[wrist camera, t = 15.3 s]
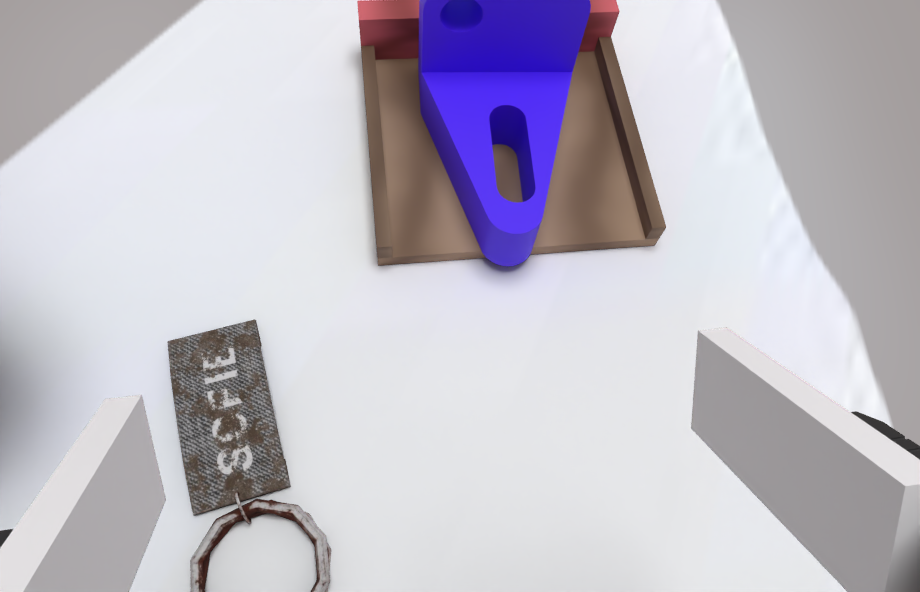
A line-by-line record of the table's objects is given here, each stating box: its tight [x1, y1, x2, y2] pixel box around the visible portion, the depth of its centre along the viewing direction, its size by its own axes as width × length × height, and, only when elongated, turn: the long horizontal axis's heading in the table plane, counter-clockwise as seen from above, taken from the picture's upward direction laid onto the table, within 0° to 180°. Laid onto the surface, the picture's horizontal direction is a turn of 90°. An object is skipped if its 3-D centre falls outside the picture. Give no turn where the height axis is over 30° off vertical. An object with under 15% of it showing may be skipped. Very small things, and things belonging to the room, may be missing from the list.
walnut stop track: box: [358, 0, 666, 266], centre depth 50 cm, size 20×20×5 cm
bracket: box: [418, 0, 591, 266], centre depth 45 cm, size 18×11×12 cm, turn 4°
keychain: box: [168, 320, 331, 592], centre depth 40 cm, size 8×19×2 cm, turn 18°
